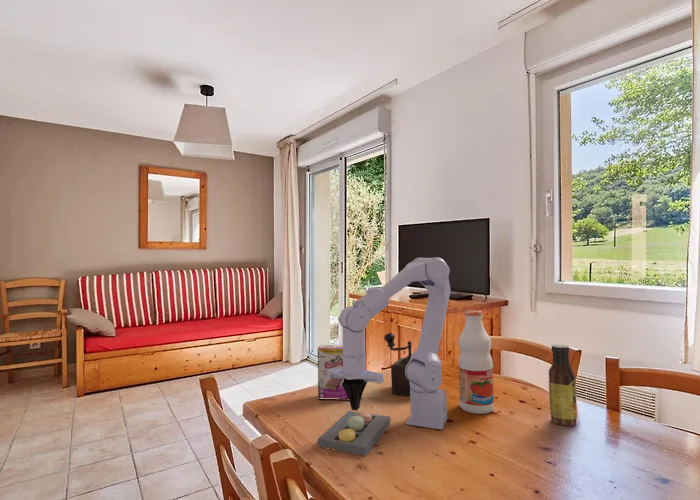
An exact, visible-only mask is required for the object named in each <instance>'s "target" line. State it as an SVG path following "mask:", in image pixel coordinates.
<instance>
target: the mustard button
mask: <svg viewBox="0 0 700 500" xmlns="http://www.w3.org/2000/svg"><path fill="white" fill-rule="evenodd" d="M354 440H355V431H354V430H352V429H343V430H340V431H339V441H345V442H351V443H353V441H354Z"/></svg>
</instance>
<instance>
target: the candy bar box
mask: <svg viewBox="0 0 700 500" xmlns="http://www.w3.org/2000/svg"><path fill="white" fill-rule="evenodd" d="M329 369H343V344H320V345H319V346H318V347H317V388H318V389H317V392H318V393H317V395H318V396H317V398H339V399H349V398H348V396H347V393H346V391H345V390H344V388H343V386H342V383H343V382H344V379H341V378H327V370H329Z"/></svg>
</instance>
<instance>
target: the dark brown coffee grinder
mask: <svg viewBox="0 0 700 500" xmlns="http://www.w3.org/2000/svg"><path fill="white" fill-rule="evenodd" d="M383 338H384V341H385V342H386V343H387V348H389V350H390V351H394V352H395V351H403V350H405V351H406V350H407V349H408V350H407V351H408V352H407V353H408V355H406V356H405V357H403V358H402V357H400V358H398V360H397V361H395V362H394V363H393V364H392V365H391V366H390V375H391V376H390V377H391V395H394V396H399V397H405V398H410V381H409V380H408V379H407V377H406V375H405V368H406V365H407V364H408V362H409V361H410V359H411V355H412V347H413V345H412V341H411V340H408V341H407V345H406V346H403V347H395V346H396V343H395V339H396V336H395V334H394V333H392V332H388V333H386V334H385V335H384V337H383Z"/></svg>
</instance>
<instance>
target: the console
mask: <svg viewBox="0 0 700 500" xmlns="http://www.w3.org/2000/svg"><path fill="white" fill-rule="evenodd" d="M360 412H361V411H360ZM360 412H359V411H354V410H348V411H347V412H346V413H345V414H343V415H342V417H340V418H339V419H338V420H337V421H336V422H334V424H333V425H331V427H329V428H328V429H327V430H326V431H324V432H323V434H322V435H320V437H318V439H317V447H318V446H320V447H325V448H329V449H328V450H330V449H335V450H339V451H338V452H340V451H345V452H350V453H355V454H354V455H356V454H359V455H358V456H361V455H364V456H363V457H366V456H367V455H368V454H369V452H371V450H372V449H373V447H374V446H375V445H376V443H377V442H378V441H379V440H380V438H381V437H382V435H383V434H384V433H385V432H386V431H387V429H388V428H389V427H390V425H391V416H387V415H380V414H373V413H371V414H372V421H371V423H364V430H363V431H361V432H355V440H354V441H353V443H351V442H345V441H339V431H340V430H343V429H348V418H349V417H352V416H357V414H358V413H360ZM335 450H334V451H335ZM345 452H344V453H345ZM350 453H349V454H350ZM367 453H368V454H367Z"/></svg>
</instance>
